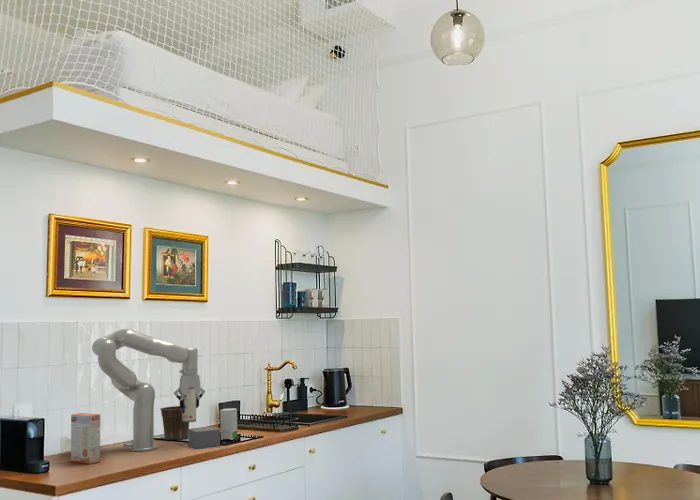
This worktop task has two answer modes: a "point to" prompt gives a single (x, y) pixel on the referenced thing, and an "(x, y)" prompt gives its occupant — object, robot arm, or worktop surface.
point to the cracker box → (85, 438)
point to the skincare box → (228, 423)
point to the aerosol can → (189, 406)
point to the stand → (204, 437)
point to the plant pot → (174, 423)
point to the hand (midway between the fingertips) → (189, 407)
